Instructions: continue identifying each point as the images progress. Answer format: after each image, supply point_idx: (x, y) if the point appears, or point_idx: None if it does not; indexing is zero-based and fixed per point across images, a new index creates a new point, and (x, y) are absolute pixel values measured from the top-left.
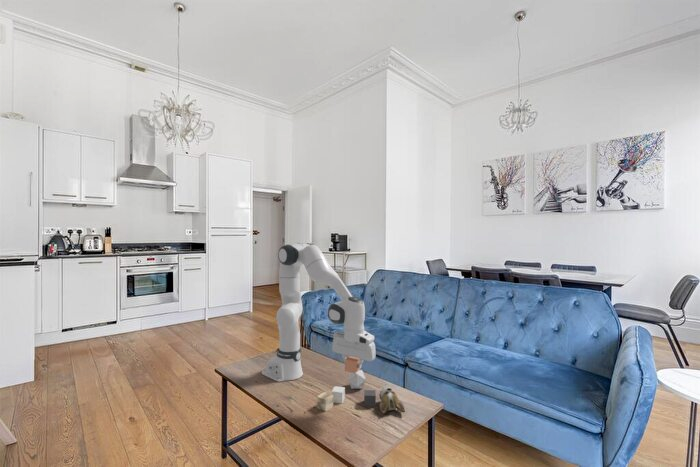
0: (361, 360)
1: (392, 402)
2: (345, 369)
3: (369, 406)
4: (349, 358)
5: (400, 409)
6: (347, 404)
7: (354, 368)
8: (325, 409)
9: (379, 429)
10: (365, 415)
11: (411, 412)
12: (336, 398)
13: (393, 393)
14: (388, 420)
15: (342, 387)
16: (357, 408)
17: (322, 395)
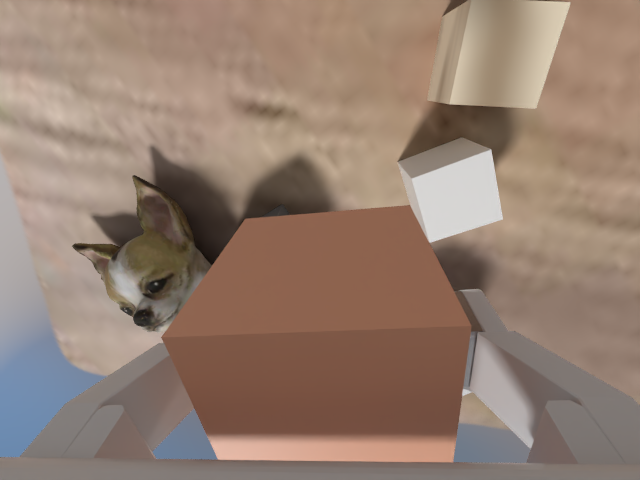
0: (60, 425)
1: (114, 254)
2: (399, 212)
3: (260, 217)
4: (392, 401)
5: (95, 248)
6: (367, 171)
7: (233, 251)
8: (448, 14)
9: (86, 64)
10: (226, 136)
11: (97, 277)
12: (439, 154)
13: (122, 304)
14: (116, 167)
15: (444, 233)
16: (300, 169)
17: (532, 49)
